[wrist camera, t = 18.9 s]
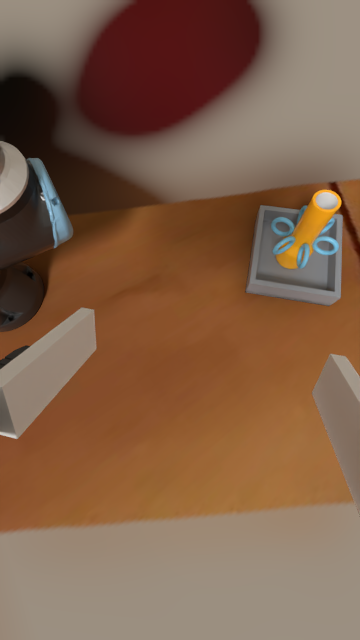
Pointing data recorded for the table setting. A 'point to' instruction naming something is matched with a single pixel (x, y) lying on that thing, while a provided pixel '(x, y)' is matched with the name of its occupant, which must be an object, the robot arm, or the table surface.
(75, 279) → the table surface
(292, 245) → the cylinder
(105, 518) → the table surface
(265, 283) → the tray
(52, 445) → the table surface
